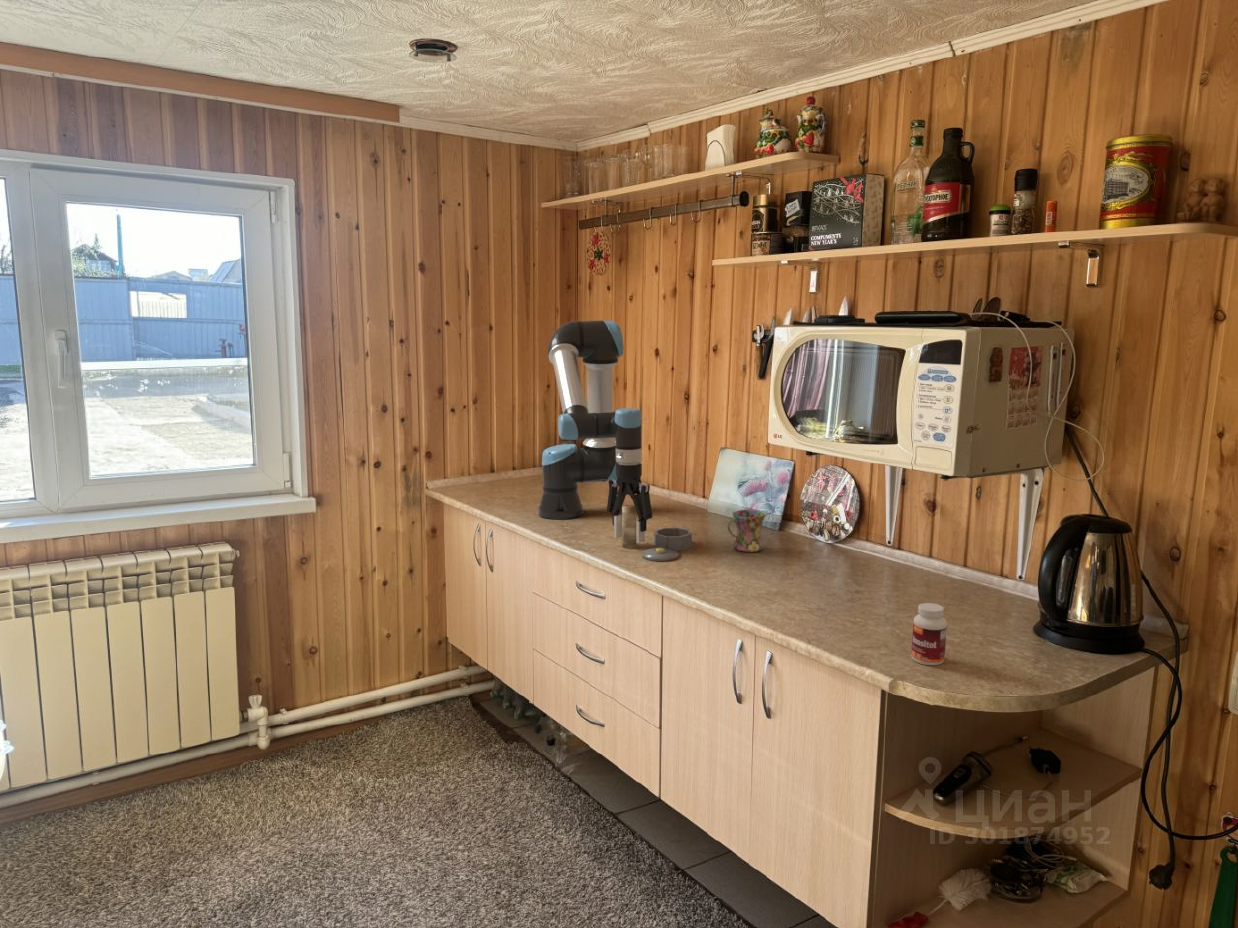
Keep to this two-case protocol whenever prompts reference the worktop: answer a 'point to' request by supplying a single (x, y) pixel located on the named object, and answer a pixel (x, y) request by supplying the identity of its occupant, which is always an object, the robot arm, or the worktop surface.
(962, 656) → the worktop surface
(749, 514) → the mug
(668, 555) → the jar lid
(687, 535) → the candle jar
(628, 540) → the dowel
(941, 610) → the pill bottle
